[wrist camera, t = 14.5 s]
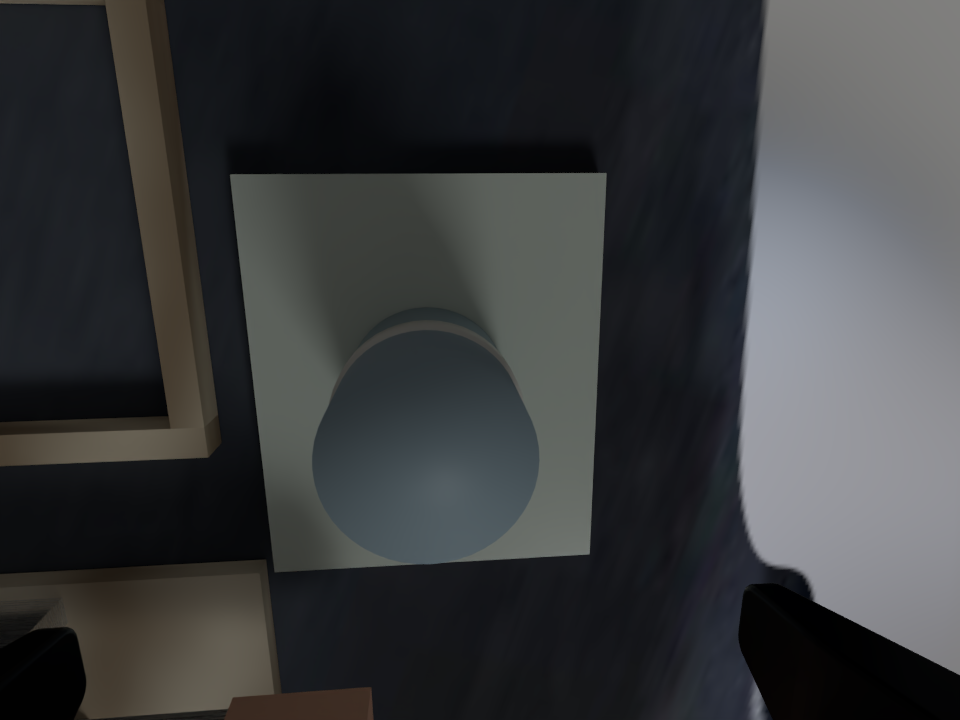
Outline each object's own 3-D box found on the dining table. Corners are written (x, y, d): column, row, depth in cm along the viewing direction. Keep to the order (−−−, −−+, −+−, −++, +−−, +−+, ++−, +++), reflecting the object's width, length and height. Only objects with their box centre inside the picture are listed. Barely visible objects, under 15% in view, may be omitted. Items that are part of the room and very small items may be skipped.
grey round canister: (350, 461, 19) (316, 574, 13) (340, 305, 18) (297, 354, 12) (507, 455, 19) (540, 561, 14) (509, 302, 18) (547, 348, 12)
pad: (280, 558, 20) (274, 572, 20) (238, 175, 17) (229, 174, 16) (583, 542, 21) (589, 554, 21) (598, 174, 18) (606, 173, 17)
